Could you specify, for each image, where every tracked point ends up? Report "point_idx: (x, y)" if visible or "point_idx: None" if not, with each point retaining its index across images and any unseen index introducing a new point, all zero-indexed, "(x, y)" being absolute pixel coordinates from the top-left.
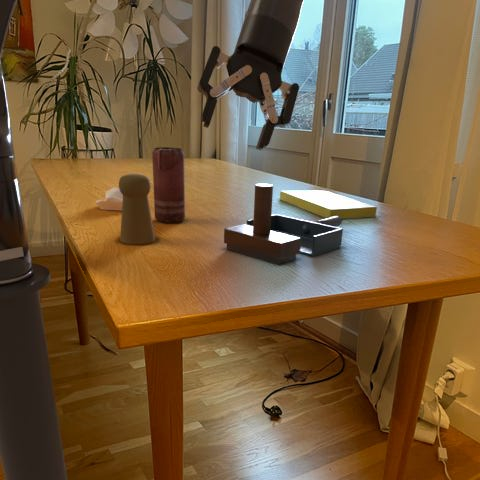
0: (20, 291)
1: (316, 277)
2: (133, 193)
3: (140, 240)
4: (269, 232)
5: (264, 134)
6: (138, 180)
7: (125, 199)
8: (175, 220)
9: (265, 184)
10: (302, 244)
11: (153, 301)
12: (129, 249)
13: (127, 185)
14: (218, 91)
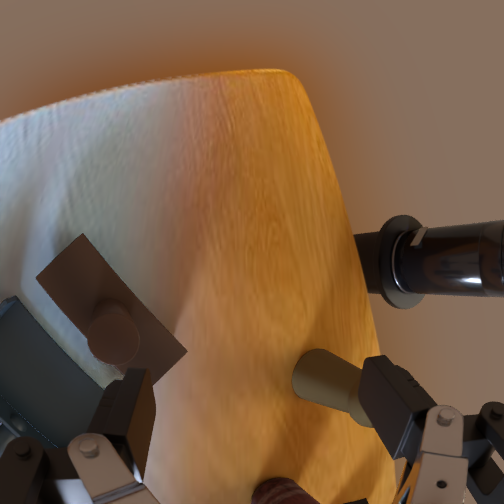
0: (386, 224)
1: (41, 175)
2: None
3: (314, 352)
4: (95, 307)
5: (131, 394)
6: None
7: None
8: (266, 483)
9: (108, 349)
10: (26, 367)
11: (275, 113)
12: (322, 323)
13: None
14: (438, 431)
